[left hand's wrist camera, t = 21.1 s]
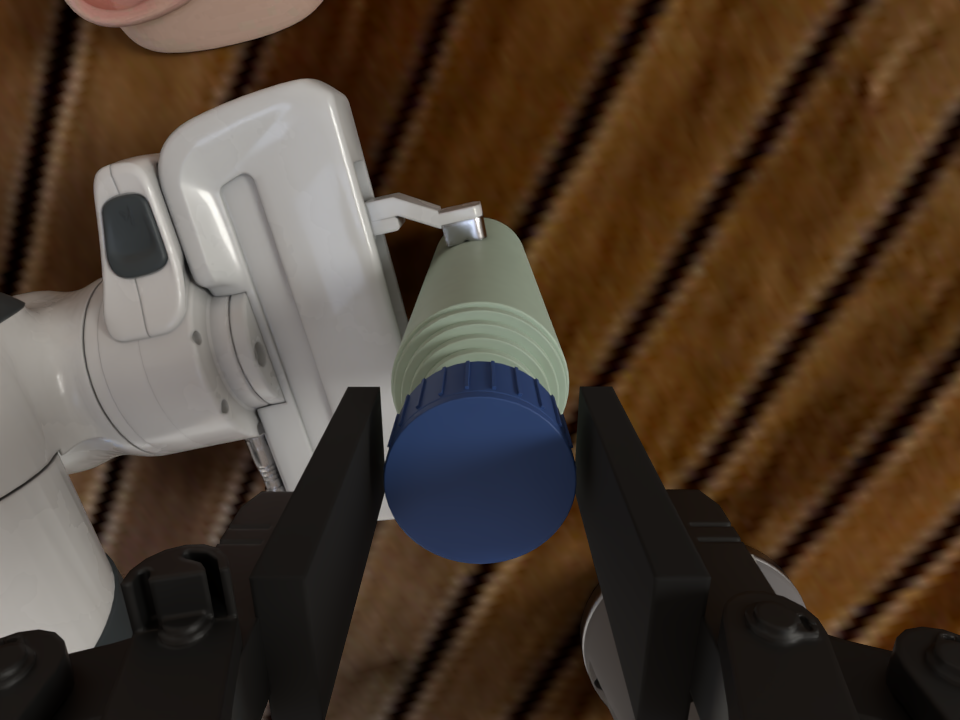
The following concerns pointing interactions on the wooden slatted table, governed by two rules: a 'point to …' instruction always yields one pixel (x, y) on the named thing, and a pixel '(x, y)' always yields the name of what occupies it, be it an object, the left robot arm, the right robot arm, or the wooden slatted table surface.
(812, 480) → the wooden slatted table surface
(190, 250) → the right robot arm
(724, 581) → the left robot arm
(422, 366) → the bottle
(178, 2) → the anatomical model
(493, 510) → the cap
